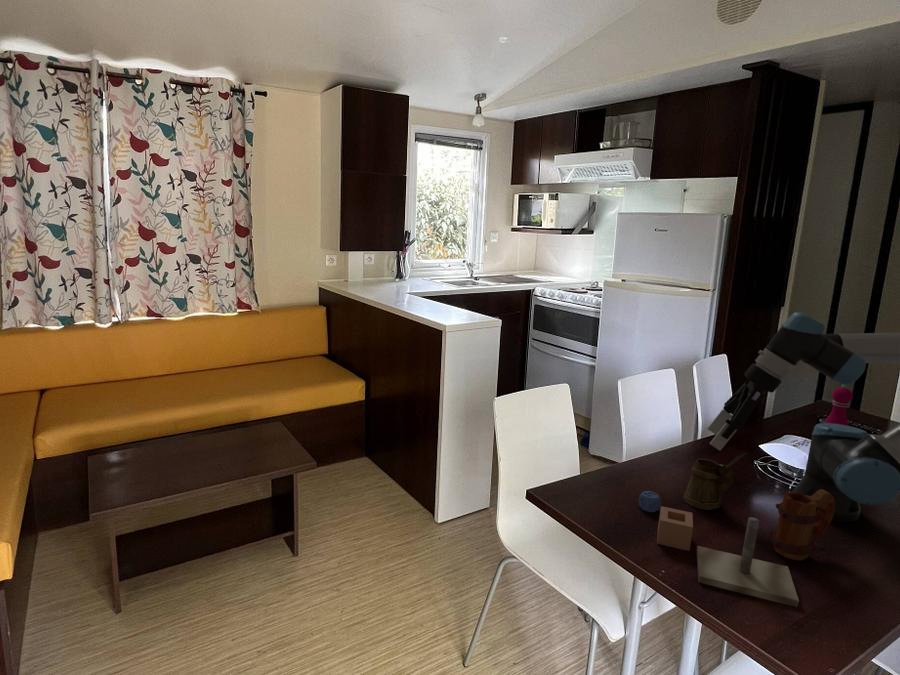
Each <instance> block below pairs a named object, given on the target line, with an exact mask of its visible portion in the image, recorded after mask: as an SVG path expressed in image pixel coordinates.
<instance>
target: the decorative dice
mask: <svg viewBox="0 0 900 675" xmlns="http://www.w3.org/2000/svg"><path fill="white" fill-rule="evenodd" d="M661 502H662V501H661V498H660V495H659V494H658V493H656V492H654V491H652V490H651V491H650V490H645V491H642V493H640V494H639V496H638V505H639V508H641V510H643V511H644V512H647V513H655V512H657V511H658V510H660V509H661V505H662V503H661Z"/></svg>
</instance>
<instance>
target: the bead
mask: <svg viewBox="0 0 900 675" xmlns="http://www.w3.org/2000/svg"><path fill="white" fill-rule="evenodd" d="M659 510H660V511H659V518H658V524H657V536H656V537H657V538H656V544H658V545H660V546H661V545H662V546H665V547H670V548H675V549H678V550H683V551H686V550H687V551H688V552H690V550H691V545H692V538H693V531H694V522H693V518H694V517H693V512H690V511H687V510H686V511H685V510H680V509H675V508H672V507H666V506H661V505H660V508H659Z"/></svg>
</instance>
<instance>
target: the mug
mask: <svg viewBox="0 0 900 675" xmlns="http://www.w3.org/2000/svg"><path fill="white" fill-rule="evenodd" d="M793 492H794V491H793ZM793 492H791V491H787V492H786V493H784V495H783V498H782V502H780V503H776V504H775V508H776V509H777V512H778V514H779V516H778V523H777V527H776V530H774V531H770V532H769V536H770V538H771V540H772V543H773V549H774V551H775V552H776V553H777V554H779V555H781V556H782V557H784V558H787V559H789V560H792V561H804V560H806V559H807V558H808V557H809V555H810V554H811V553H812V552H815V551H816V550H817V547H816V545H815V544H814V540H813V539H812V537H813V536H815V537H816V538H821V537H822V535H823V534H824V533H825V532H826V530H827V529H828V528H829V526H830V524H831V523H832V521H833V520H832V518H833V515H834V512H835V501H834V498H833V496H832V494H830V493H829V492H827V491H825V490H823V489H820V490H818V491H817V492H816V493H815V494H813V495H812V496H808V495H806V496H805V495H803V494H802V493H799V492H794V493H793ZM816 507H819V509H818V512H817V511H816Z"/></svg>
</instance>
